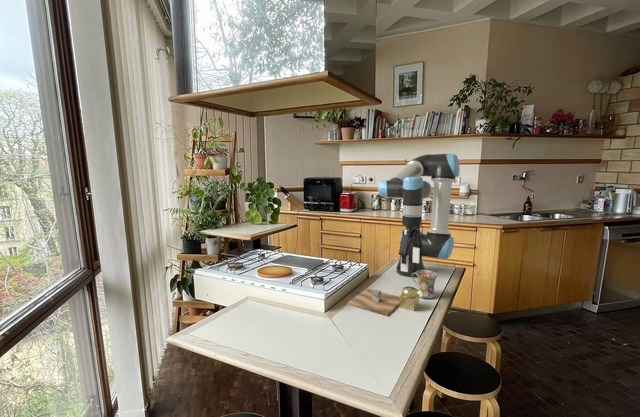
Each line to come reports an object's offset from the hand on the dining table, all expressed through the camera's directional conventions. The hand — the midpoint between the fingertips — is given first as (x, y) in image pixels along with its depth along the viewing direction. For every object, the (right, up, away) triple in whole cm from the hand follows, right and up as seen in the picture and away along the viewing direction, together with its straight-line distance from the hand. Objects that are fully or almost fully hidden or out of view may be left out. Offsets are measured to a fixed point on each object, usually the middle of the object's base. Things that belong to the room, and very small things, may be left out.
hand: (410, 266), depth 126 cm
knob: (0, -17, +2) cm, 17 cm away
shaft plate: (-13, -17, +7) cm, 22 cm away
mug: (+10, -16, +14) cm, 23 cm away
